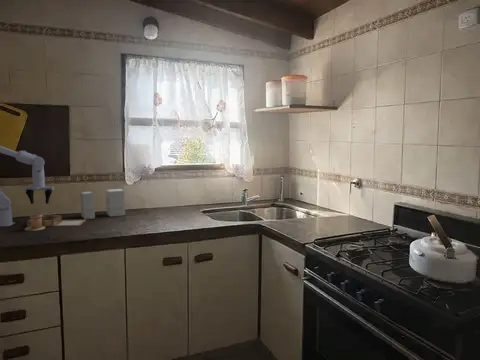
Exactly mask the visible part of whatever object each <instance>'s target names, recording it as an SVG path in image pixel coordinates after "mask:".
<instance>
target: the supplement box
mask: <svg viewBox="0 0 480 360" xmlns="http://www.w3.org/2000/svg"><path fill="white" fill-rule="evenodd" d="M125 200H126V199H125V190H123V189H122V188H113V189H111V188H110V189H105V203H106V215H107V216H108V217H119V216H120V217H121V216H125V215H126V205H125V204H126V201H125Z"/></svg>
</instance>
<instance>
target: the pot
mask: <svg viewBox="0 0 480 360" xmlns="http://www.w3.org/2000/svg"><path fill="white" fill-rule="evenodd" d="M42 216H43V214H39V213H38V214H31V215H29V219H31V228H34V229H35V228H41V227H42Z"/></svg>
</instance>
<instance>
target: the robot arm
mask: <svg viewBox="0 0 480 360" xmlns="http://www.w3.org/2000/svg"><path fill="white" fill-rule="evenodd" d="M0 154H4V155H6V156H10V157H13V158H15V160H16V161H17V162H19V163H23V164H26V165H32V171H31V172H32V173H31V175H32V186H24V187H23V191H25V194H26V196H27V197H28V199H29V202H30V204H31V205H33V204H35V203H34V202H35V200H34V199H35V198H34V193H35V191H44V196H45V204H46V205H47V204H49V203H50V202H49V201H50V198H51V195H52V193H53V191H55V188H54V186H53V185H52V186H51V185H45V184H46V183H45V182H46V180H45V170H44V168H45V167H44V165H45V163H46V161H45V159H44V158H43V157H41V156H38V155H37V154H35V153H33V154H32V153H30V152H27V150H25V149H24V150H18V151H17V150H13V149H10V148H8V147H5V146H2V145H0ZM11 204H12V200H11V199H10V197H9V196H7V194H5V193H4V192H3V190H2V188H0V227H10V226H12V225H14V224H16V222H13V211H12V210H13V209H12V206H11Z"/></svg>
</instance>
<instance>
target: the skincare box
mask: <svg viewBox="0 0 480 360" xmlns="http://www.w3.org/2000/svg"><path fill="white" fill-rule="evenodd" d="M79 195H80V198H79V199H80V213H81V217H82V218H83V220H88V219H89V220H94V219H95V218H96V214H95V201H94V200H95V199H94V192H92V191H83V192H79Z"/></svg>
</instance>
